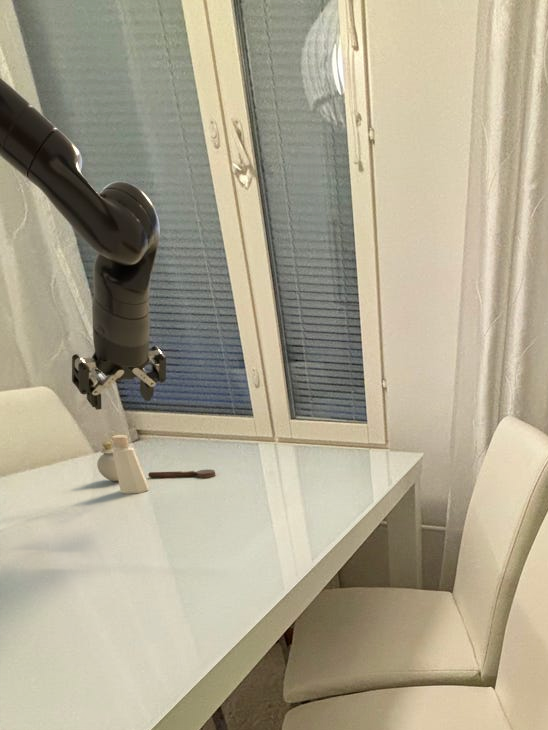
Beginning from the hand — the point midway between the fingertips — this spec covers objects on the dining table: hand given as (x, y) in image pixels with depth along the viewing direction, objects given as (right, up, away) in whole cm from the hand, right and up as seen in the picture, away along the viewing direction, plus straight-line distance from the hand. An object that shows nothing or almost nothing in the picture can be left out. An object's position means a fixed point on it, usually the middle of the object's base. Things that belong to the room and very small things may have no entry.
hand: (121, 401), depth 98 cm
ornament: (-16, -7, +24) cm, 30 cm away
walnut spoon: (-4, -5, +28) cm, 29 cm away
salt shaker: (-9, -11, +18) cm, 23 cm away
